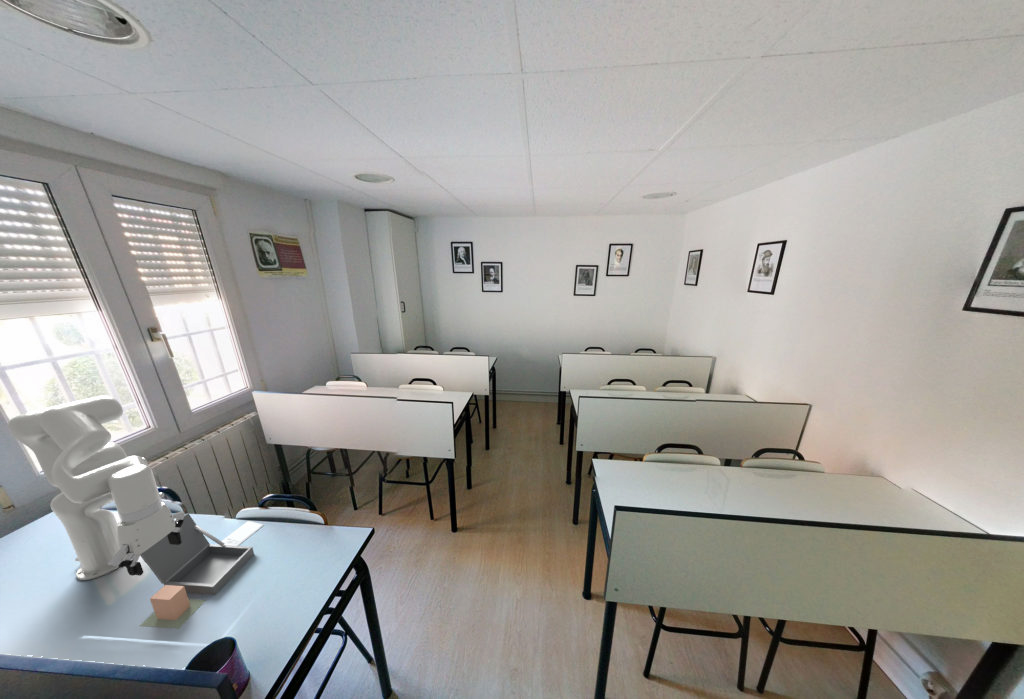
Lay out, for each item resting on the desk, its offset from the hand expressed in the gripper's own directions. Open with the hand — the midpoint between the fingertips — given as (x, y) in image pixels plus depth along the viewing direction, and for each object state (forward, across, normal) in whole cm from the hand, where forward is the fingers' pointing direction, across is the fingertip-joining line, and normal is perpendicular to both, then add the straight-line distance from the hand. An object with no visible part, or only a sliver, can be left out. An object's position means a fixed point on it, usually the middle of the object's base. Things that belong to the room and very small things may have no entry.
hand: (157, 558), depth 90 cm
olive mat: (+20, +1, +1) cm, 20 cm away
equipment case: (+21, -12, -3) cm, 24 cm away
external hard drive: (+21, -27, -4) cm, 34 cm away
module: (+20, +1, +1) cm, 20 cm away
